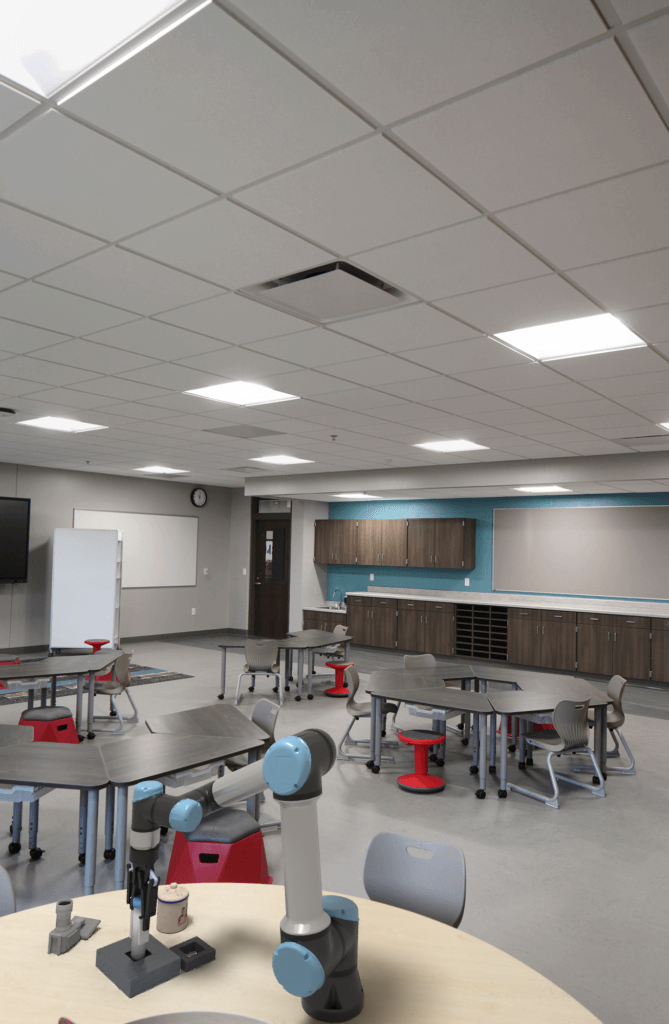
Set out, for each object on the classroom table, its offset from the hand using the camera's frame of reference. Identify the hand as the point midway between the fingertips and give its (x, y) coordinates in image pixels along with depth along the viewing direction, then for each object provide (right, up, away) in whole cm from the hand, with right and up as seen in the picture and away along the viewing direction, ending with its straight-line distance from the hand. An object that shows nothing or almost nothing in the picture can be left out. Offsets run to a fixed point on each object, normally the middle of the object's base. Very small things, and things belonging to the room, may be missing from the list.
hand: (138, 938), depth 168 cm
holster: (+13, -9, +5) cm, 16 cm away
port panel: (0, -8, -1) cm, 8 cm away
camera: (-23, -9, +12) cm, 27 cm away
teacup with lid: (+3, -10, +22) cm, 25 cm away
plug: (0, -4, 0) cm, 4 cm away
